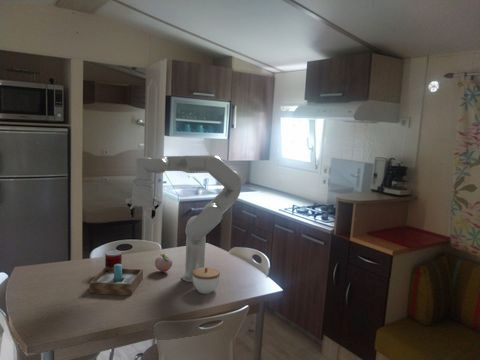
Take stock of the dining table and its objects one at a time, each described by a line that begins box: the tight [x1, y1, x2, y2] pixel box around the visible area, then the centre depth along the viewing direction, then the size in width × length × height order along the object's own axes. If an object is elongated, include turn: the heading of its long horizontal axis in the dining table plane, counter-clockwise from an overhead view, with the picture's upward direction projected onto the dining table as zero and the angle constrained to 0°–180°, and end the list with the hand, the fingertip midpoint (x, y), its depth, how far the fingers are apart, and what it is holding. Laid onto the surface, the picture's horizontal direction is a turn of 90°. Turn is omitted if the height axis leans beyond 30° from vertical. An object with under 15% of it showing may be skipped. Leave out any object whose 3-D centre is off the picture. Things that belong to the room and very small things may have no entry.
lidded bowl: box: [192, 266, 220, 295], centre depth 180 cm, size 13×13×11 cm
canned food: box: [104, 249, 123, 268], centre depth 195 cm, size 8×8×11 cm
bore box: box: [89, 266, 144, 296], centre depth 181 cm, size 19×19×5 cm
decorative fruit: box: [154, 253, 173, 273], centre depth 200 cm, size 9×8×10 cm
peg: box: [114, 264, 123, 282], centre depth 180 cm, size 4×4×10 cm
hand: (143, 217), depth 189 cm, fingers open, 9 cm apart
